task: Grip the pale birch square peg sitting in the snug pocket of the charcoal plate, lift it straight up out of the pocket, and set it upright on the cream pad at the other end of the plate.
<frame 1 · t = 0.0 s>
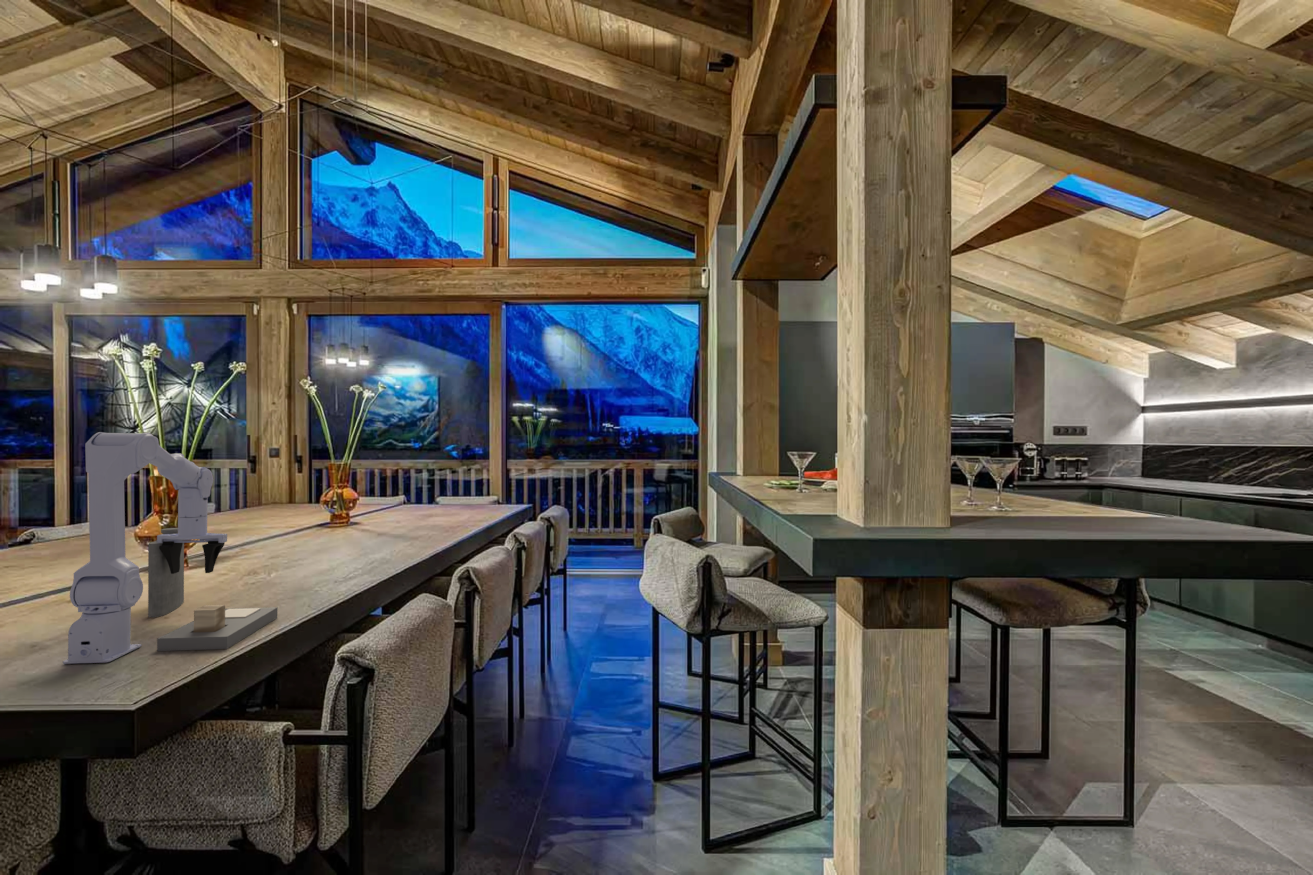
hand: (192, 572, 151), 10 cm above the table, tool pointing down, fingers open, 7 cm apart
peg: (209, 640, 133), resting in pocket plate
hip flask: (168, 609, 156), on the table
pocket plate: (222, 632, 137), on the table
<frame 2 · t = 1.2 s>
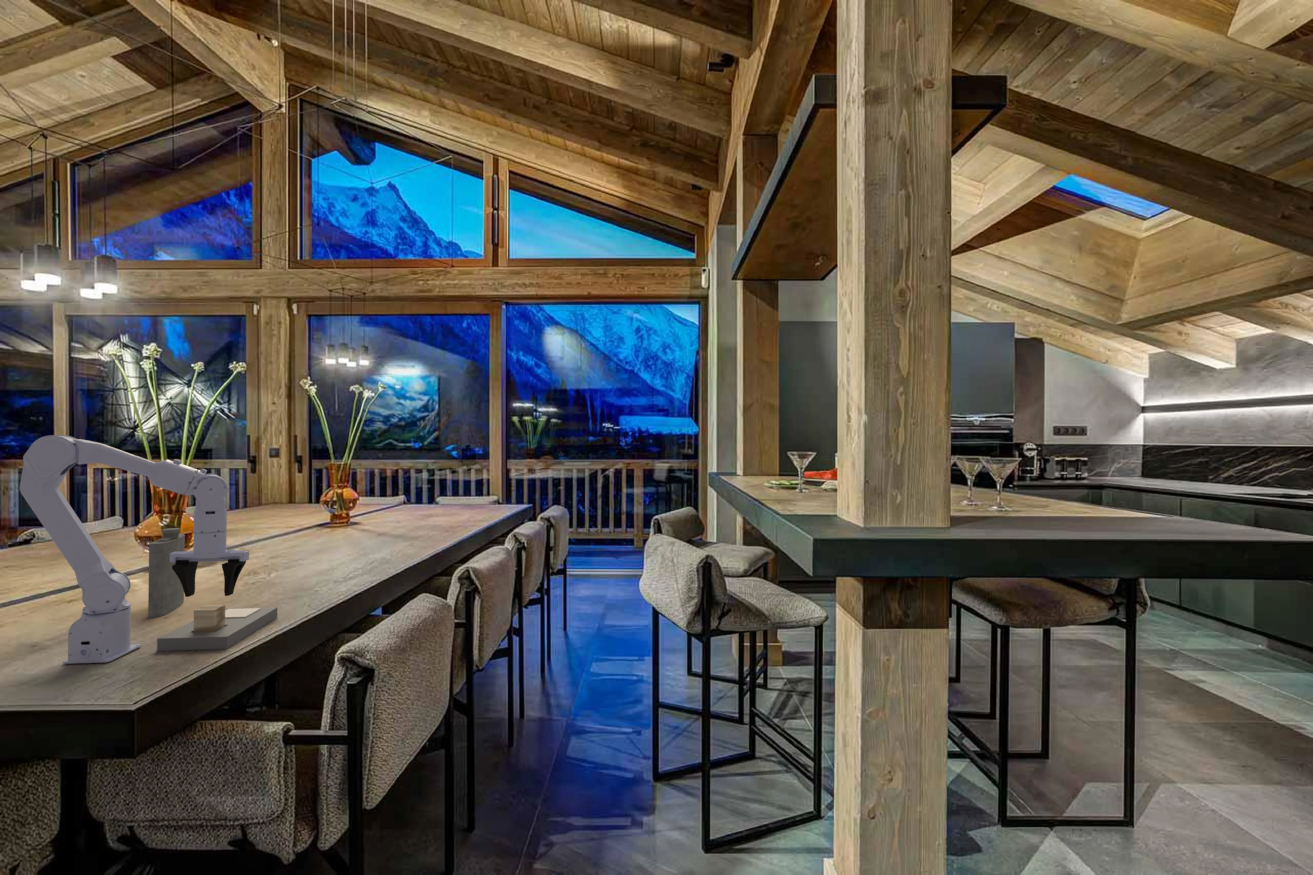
hand: (209, 595, 133), 9 cm above the table, tool pointing down, fingers open, 7 cm apart
nothing on the table moved.
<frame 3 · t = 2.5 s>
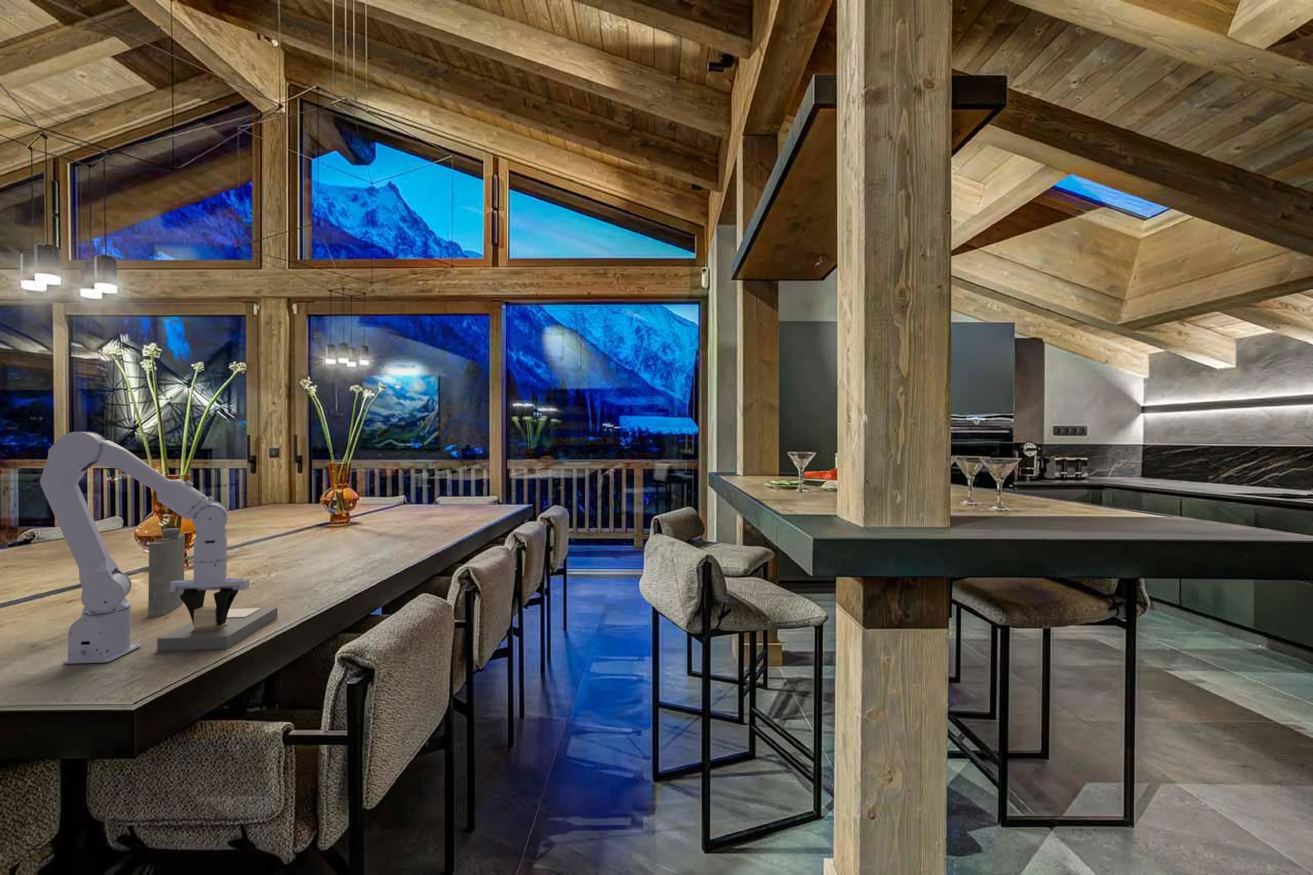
hand: (209, 624, 133), 3 cm above the table, tool pointing down, fingers closed on peg, 4 cm apart
peg: (209, 640, 133), resting in pocket plate, touching gripper
everything else where it was.
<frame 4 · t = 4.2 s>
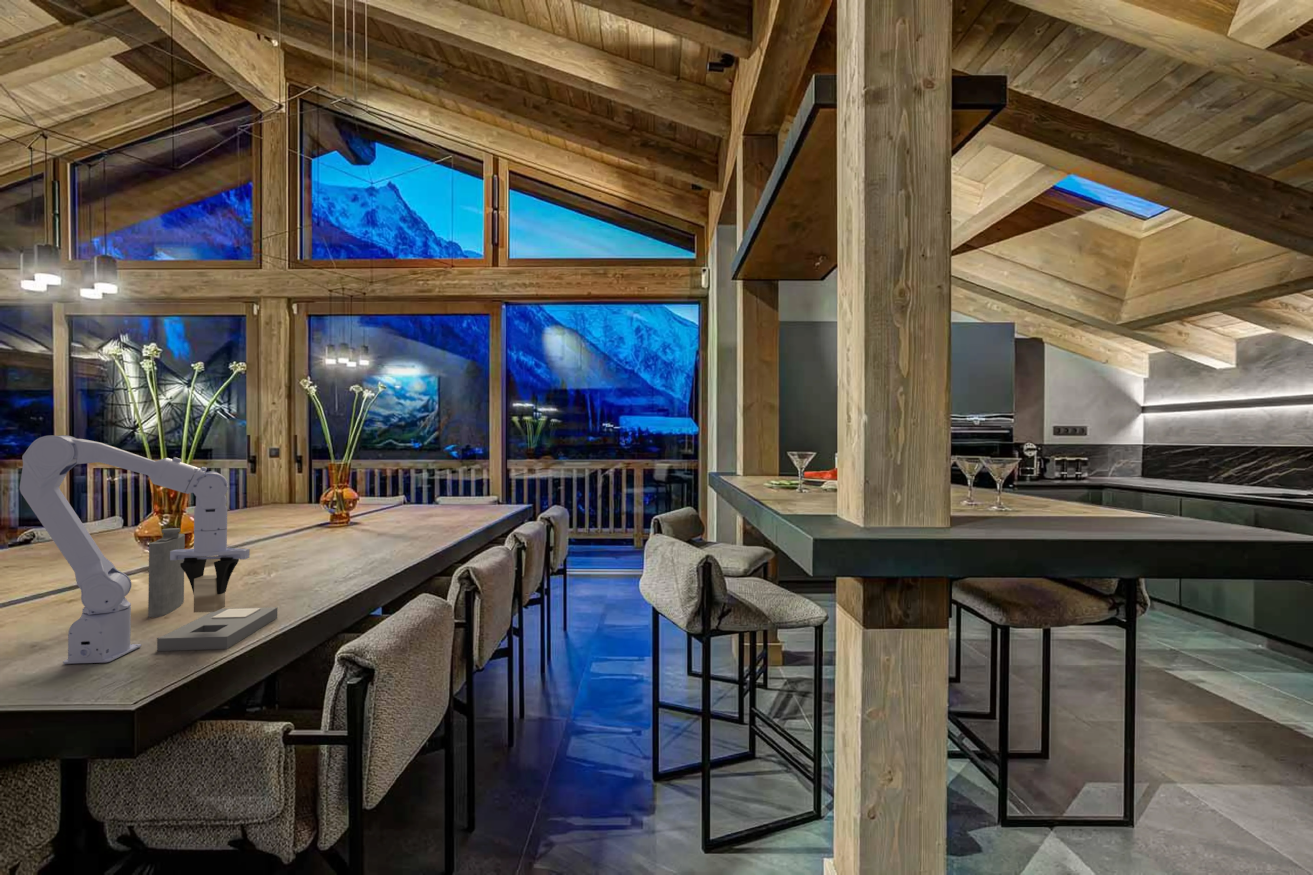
hand: (209, 593, 132), 10 cm above the table, tool pointing down, fingers closed on peg, 4 cm apart
peg: (209, 609, 132), point 7 cm above the table, touching gripper
everything else where it was.
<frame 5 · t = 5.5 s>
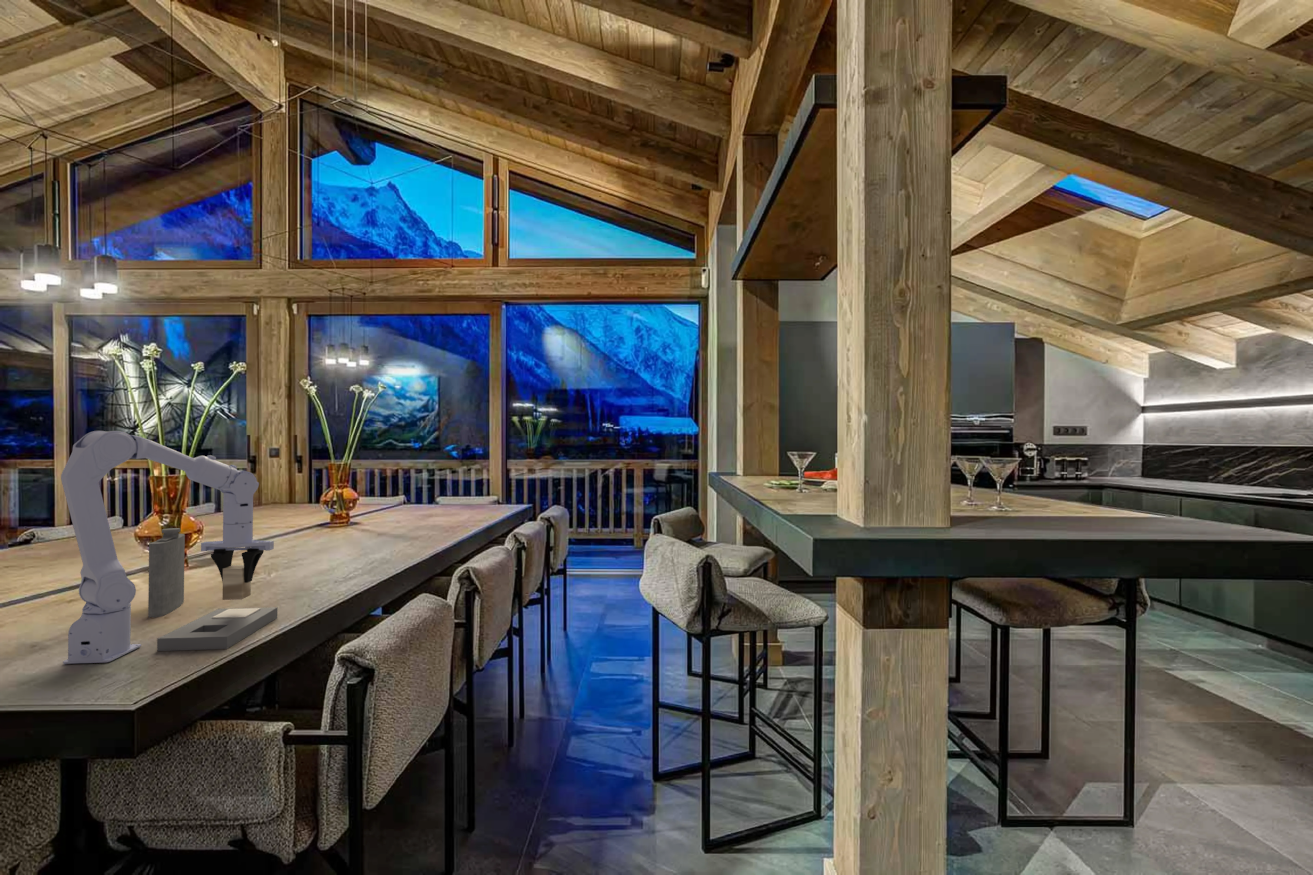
hand: (237, 581, 143), 10 cm above the table, tool pointing down, fingers closed on peg, 4 cm apart
peg: (236, 597, 143), point 6 cm above the table, touching gripper
everything else where it was.
when the fingers open (7 cm above the table, at t = 6.3 s): peg drops 1 cm, resting on pocket plate.
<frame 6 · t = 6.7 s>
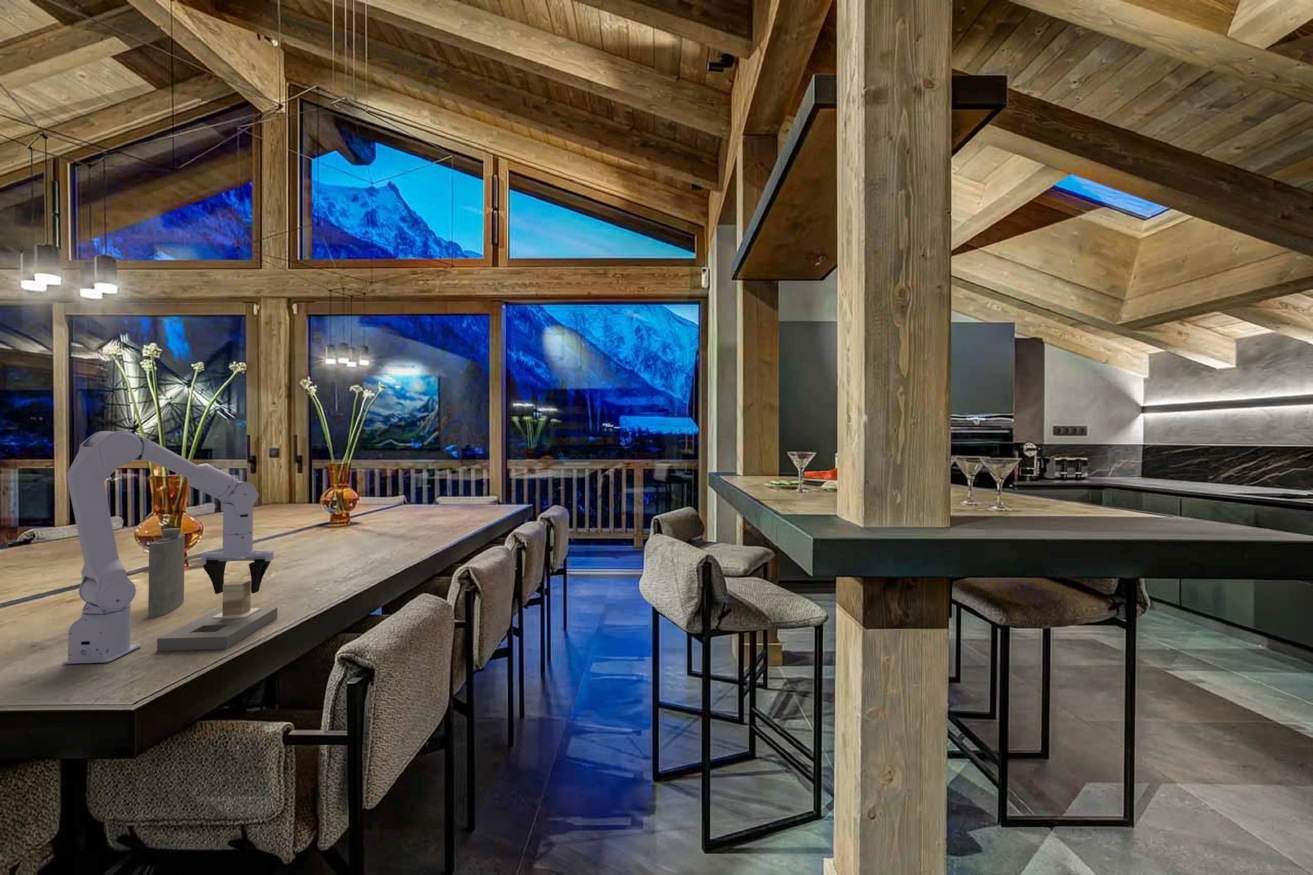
hand: (237, 592, 143), 7 cm above the table, tool pointing down, fingers open, 7 cm apart
peg: (236, 612, 143), point 3 cm above the table, touching pocket plate
everything else where it was.
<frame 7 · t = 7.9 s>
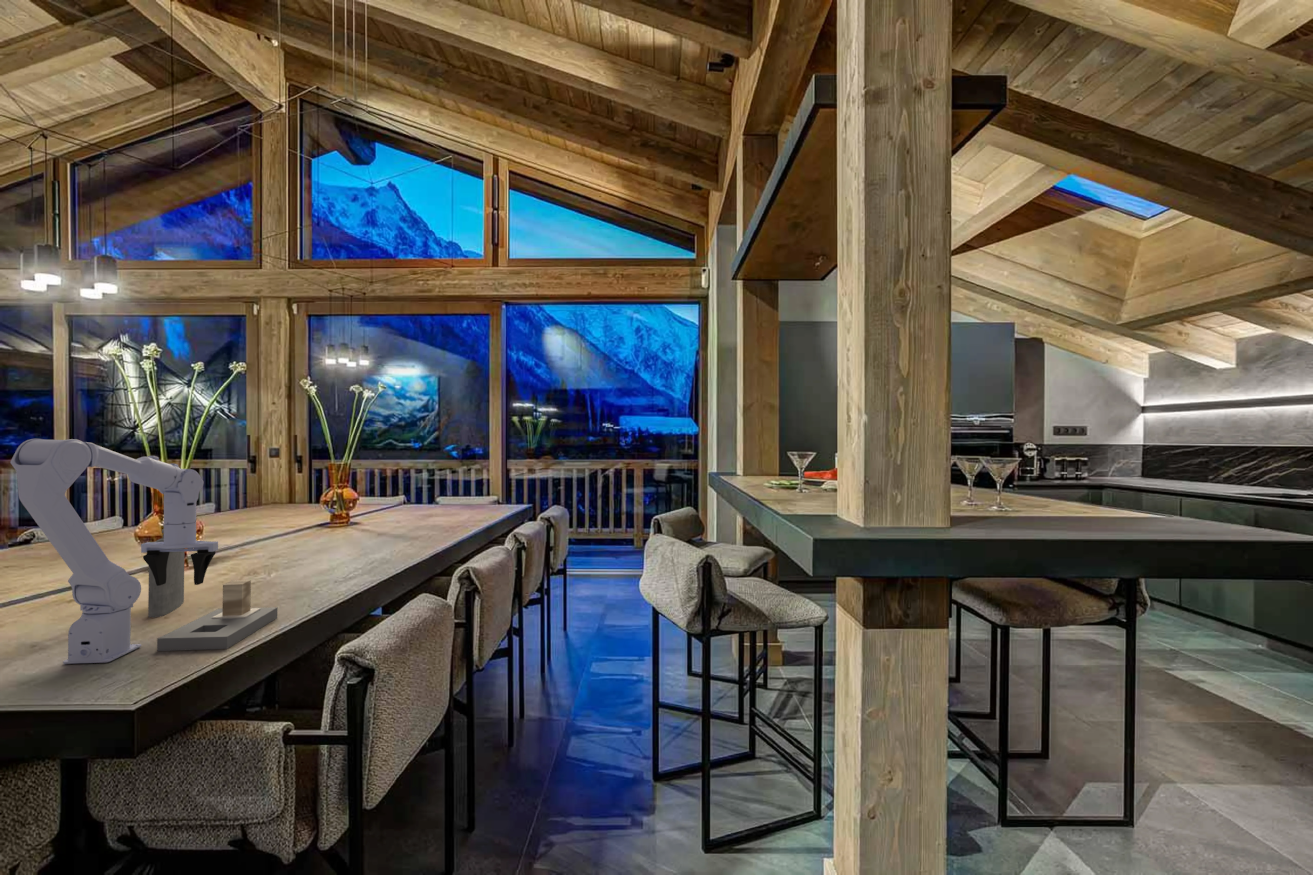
hand: (180, 584, 138), 10 cm above the table, tool pointing down, fingers open, 7 cm apart
nothing on the table moved.
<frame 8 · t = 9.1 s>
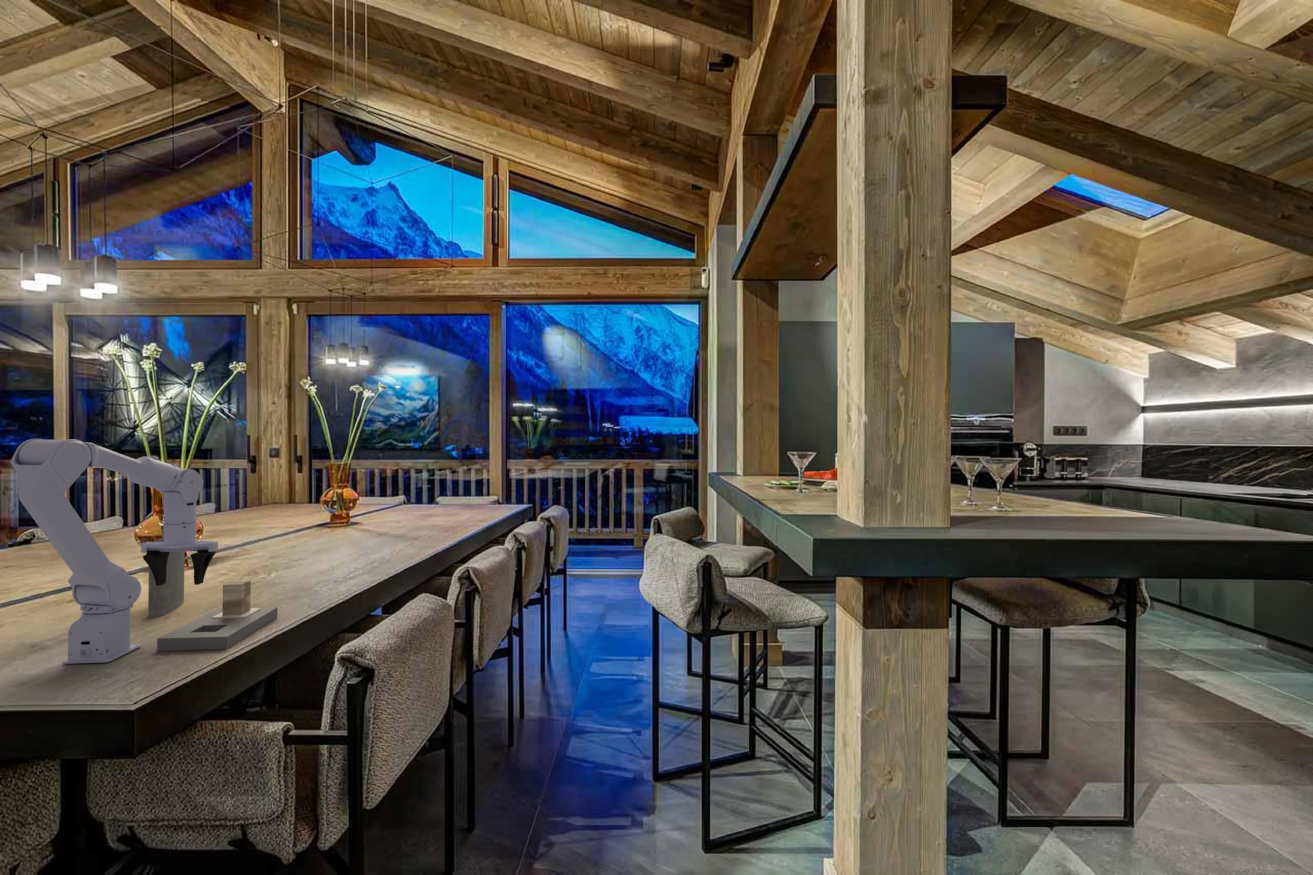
hand: (180, 584, 138), 10 cm above the table, tool pointing down, fingers open, 7 cm apart
nothing on the table moved.
at the end: peg 0.2 cm from the target spot on the pocket plate, point 2.8 cm above the pocket plate's base; peg tilted 0°; the gripper is holding nothing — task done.
